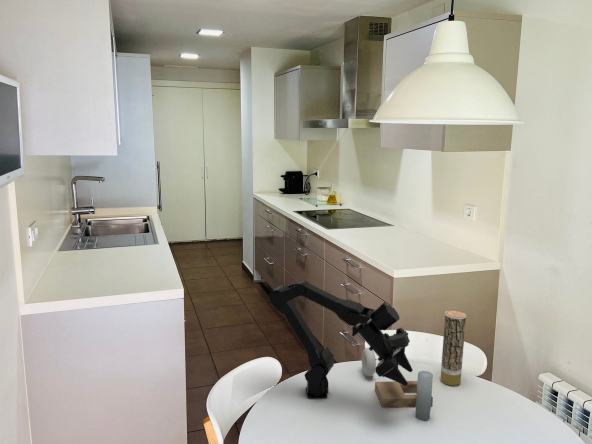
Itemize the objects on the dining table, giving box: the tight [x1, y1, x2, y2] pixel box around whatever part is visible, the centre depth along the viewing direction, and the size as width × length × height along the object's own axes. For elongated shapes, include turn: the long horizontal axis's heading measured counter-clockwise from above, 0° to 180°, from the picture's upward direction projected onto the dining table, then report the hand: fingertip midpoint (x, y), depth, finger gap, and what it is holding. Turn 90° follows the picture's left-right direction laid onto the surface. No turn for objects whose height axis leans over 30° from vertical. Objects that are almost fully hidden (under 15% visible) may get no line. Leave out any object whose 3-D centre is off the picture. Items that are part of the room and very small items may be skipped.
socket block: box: [374, 380, 434, 409], centre depth 161 cm, size 16×11×3 cm
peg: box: [414, 370, 434, 422], centre depth 150 cm, size 4×4×14 cm
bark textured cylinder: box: [440, 310, 467, 387], centre depth 171 cm, size 7×7×25 cm
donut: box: [361, 347, 377, 377], centre depth 176 cm, size 10×3×10 cm, turn 6°
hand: (409, 377), depth 151 cm, fingers open, 9 cm apart
